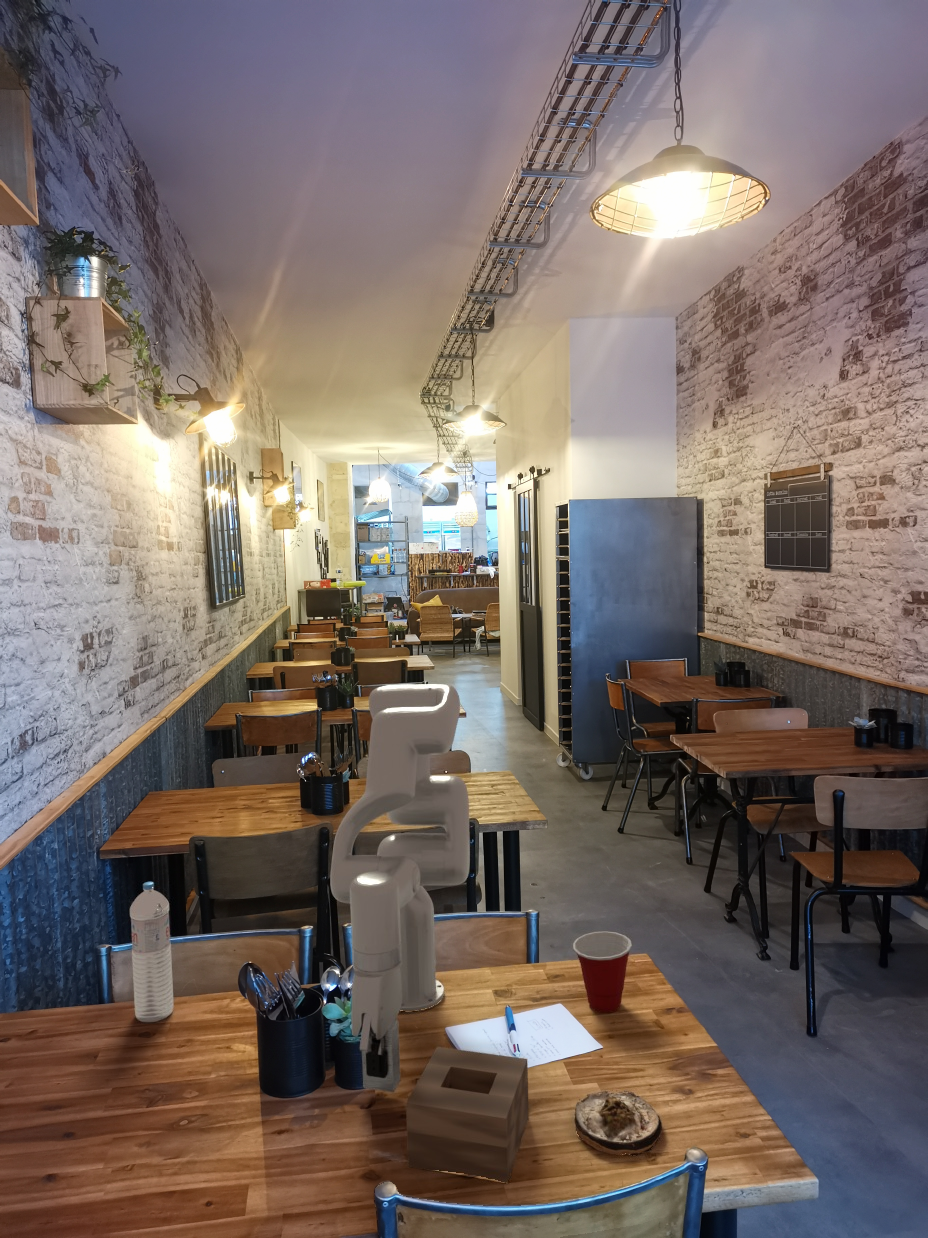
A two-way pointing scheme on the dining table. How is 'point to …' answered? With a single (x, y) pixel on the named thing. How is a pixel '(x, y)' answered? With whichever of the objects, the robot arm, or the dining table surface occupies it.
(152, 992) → the water bottle
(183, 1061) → the dining table surface
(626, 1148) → the sushi roll
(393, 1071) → the gray rectangular block
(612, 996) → the plastic cup
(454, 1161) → the wooden slotted box
